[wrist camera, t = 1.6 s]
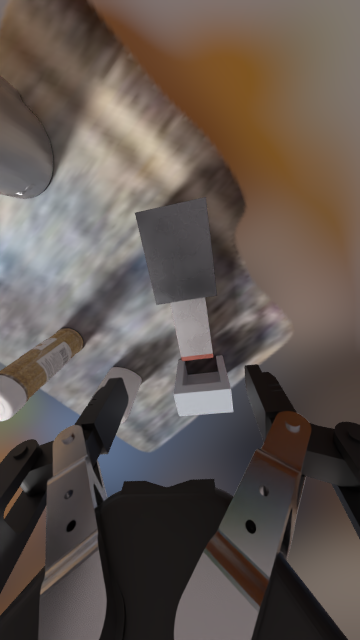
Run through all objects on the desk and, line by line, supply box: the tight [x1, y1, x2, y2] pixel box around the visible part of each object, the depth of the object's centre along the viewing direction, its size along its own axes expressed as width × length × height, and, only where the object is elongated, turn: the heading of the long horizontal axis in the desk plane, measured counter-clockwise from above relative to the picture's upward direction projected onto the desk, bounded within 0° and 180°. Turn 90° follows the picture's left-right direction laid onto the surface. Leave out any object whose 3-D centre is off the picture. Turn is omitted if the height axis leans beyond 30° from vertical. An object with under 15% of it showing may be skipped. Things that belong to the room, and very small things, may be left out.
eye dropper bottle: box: [91, 367, 142, 424], centre depth 27 cm, size 4×6×12 cm
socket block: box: [174, 355, 233, 416], centre depth 28 cm, size 4×7×8 cm, turn 101°
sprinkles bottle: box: [0, 328, 83, 421], centre depth 25 cm, size 5×5×13 cm
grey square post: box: [170, 297, 213, 361], centre depth 24 cm, size 16×4×5 cm, turn 10°
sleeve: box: [135, 197, 217, 305], centre depth 22 cm, size 9×6×7 cm
